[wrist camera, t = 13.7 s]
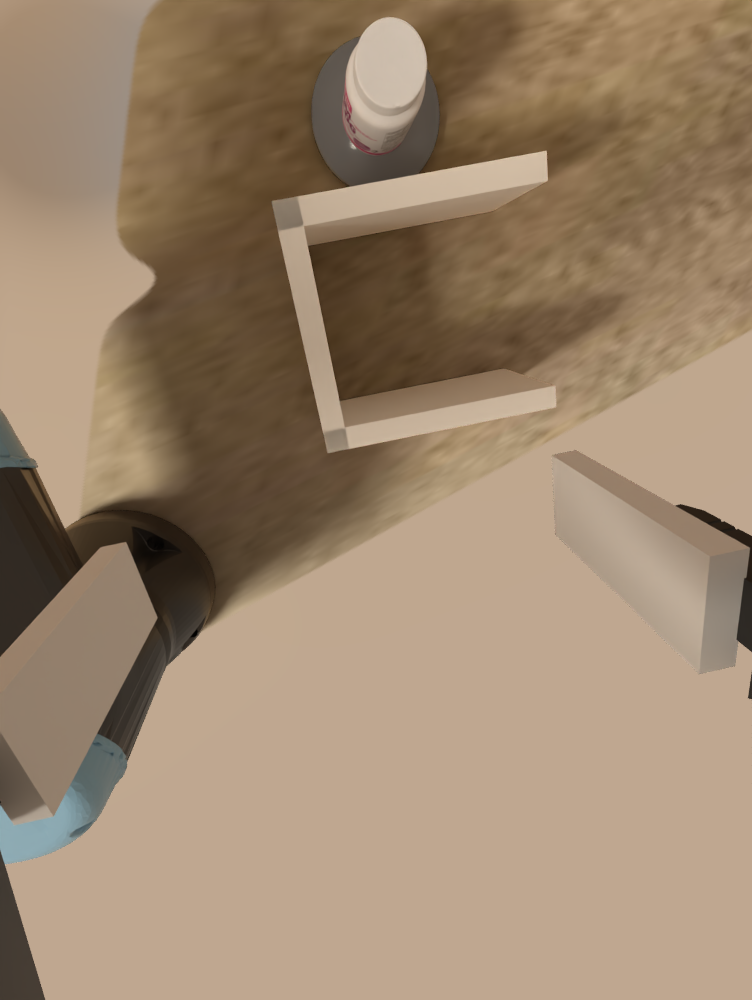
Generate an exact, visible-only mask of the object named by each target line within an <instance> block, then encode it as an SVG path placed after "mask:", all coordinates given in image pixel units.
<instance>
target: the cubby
mask: <svg viewBox="0 0 752 1000" xmlns="http://www.w3.org/2000/svg"><path fill="white" fill-rule="evenodd" d="M547 181H548V173H547V151H542V152H537V153H531V154H526V155H520V156H515V157H509V158H504V159H499V160H493V161H488V162H482V163H477V164H471V165H466V166H460V167H455V168H450V169H444V170H439V171H433V172H428V173H422V174H417V175H411V176H406V177H401V178H395V179H390V180H384V181H379V182H373V183H368V184H363V185H357V186H352V187H346V188H341V189H335V190H330V191H324V192H319V193H314V194H308V195H303V196H297V197H292V198H286V199H281V200H275V201H271V202H272V206H273V211H274V215H275V220H276V224H277V229H278V233H279V238H280V242H281V247H282V251H283V256H284V260H285V265H286V269H287V273H288V278H289V282H290V287H291V291H292V296H293V300H294V305H295V309H296V314H297V318H298V323H299V327H300V332H301V336H302V341H303V345H304V350H305V354H306V359H307V363H308V368H309V372H310V377H311V381H312V386H313V390H314V394H315V399H316V403H317V408H318V412H319V417H320V421H321V426H322V430H323V435H324V439H325V444H326V448H327V453H332V452H337V451H342V450H347V449H352V448H357V447H362V446H366V445H371V444H376V443H381V442H386V441H391V440H396V439H401V438H406V437H411V436H416V435H421V434H426V433H431V432H436V431H441V430H446V429H451V428H456V427H461V426H466V425H471V424H476V423H481V422H486V421H491V420H496V419H501V418H506V417H511V416H516V415H521V414H526V413H531V412H536V411H541V410H546V409H551V408H556V387H555V385H552V384H549V383H546V382H543V381H540V380H537V379H534V378H531V377H528V376H525V375H522V374H519V373H516V372H513V371H510V370H508V369H505V368H504V369H499V370H494V371H489V372H484V373H479V374H474V375H469V376H464V377H459V378H453V379H448V380H443V381H438V382H433V383H428V384H423V385H418V386H413V387H408V388H403V389H398V390H393V391H388V392H383V393H378V394H373V395H367V396H362V397H357V398H352V399H347V400H342V401H339V396H338V391H337V386H336V381H335V376H334V371H333V366H332V362H331V357H330V352H329V347H328V342H327V337H326V332H325V327H324V323H323V318H322V313H321V308H320V303H319V298H318V293H317V288H316V284H315V279H314V274H313V269H312V264H311V259H310V254H309V249H308V246H310V245H316V244H321V243H326V242H332V241H337V240H343V239H348V238H353V237H359V236H364V235H369V234H375V233H380V232H385V231H391V230H396V229H401V228H407V227H412V226H417V225H423V224H428V223H433V222H439V221H444V220H449V219H455V218H460V217H465V216H471V215H476V214H481V213H487V212H492V211H494V210H496V209H498V208H500V207H501V206H503V205H505V204H507V203H509V202H510V201H512V200H514V199H516V198H518V197H519V196H521V195H523V194H525V193H527V192H529V191H530V190H532V189H534V188H536V187H538V186H539V185H541V184H543V183H545V182H547Z"/></svg>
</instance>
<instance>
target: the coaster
mask: <svg viewBox="0 0 752 1000" xmlns="http://www.w3.org/2000/svg"><path fill="white" fill-rule="evenodd" d="M359 40H360V37H357V38H354V39H352V40H350V41H348V42H346V43H345V44H343V45H342V46H340V47H339V48H338V49H337V50H336V51H335V52H333V54H332V55H331V56H330V57H329V58H328V60H327V61H326V63H325V64H324V66H323V67H322V69H321V71H320V73H319V76H318V78H317V81H316V84H315V87H314V92H313V97H312V127H313V133H314V137H315V141H316V144H317V147H318V150H319V152H320V154H321V156H322V158H323V160H324V162H325V163H326V165H327V166H328V168H329V169H330V170H331V171H332V173H333V174H334V175H335V176H336V177H337V178H338V179H339V180H341V181H342V182H343V183H345V184H346V185H348V186H349V187H352V186H357V185H363V184H368V183H373V182H379V181H384V180H390V179H395V178H401V177H406V176H411V175H417V174H418V173H419V172H420V171H421V170H422V168H423V167H424V166H425V164H426V163H427V161H428V159H429V157H430V156H431V154H432V151H433V149H434V146H435V143H436V140H437V136H438V130H439V120H440V111H439V101H438V95H437V91H436V88H435V85H434V82H433V80H432V77H431V75H430V73H429V71H428V69H427V72H426V85H425V93H424V97H423V101H422V104H421V106H420V109H419V111H418V113H417V115H416V117H415V119H414V121H413V123H412V125H411V127H410V129H409V131H408V132H407V134H406V136H405V138H404V140H403V141H402V142H401V144H400V145H399V146H398V147H397V148H396V149H394V150H393V151H391V152H390V153H387V154H385V155H380V156H373V155H369V154H366V153H364V152H362V151H360V150H359V149H358V148H356V147H355V146H354V145H353V144H352V142H351V141H350V139H349V138H348V136H347V134H346V131H345V129H344V125H343V120H342V104H343V97H344V87H345V76H346V69H347V65H348V61H349V59H350V56H351V54H352V52H353V50H354V48H355V47H356V45H357V44H358V42H359Z"/></svg>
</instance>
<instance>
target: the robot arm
mask: <svg viewBox="0 0 752 1000" xmlns="http://www.w3.org/2000/svg"><path fill="white" fill-rule="evenodd" d="M36 467H38V465H37V463H36V461H35V460H34V459H32V458H30V457H29V456H28V454H27V452H26V451H25V449H24V447H23V446H22V444H21V442H20V441H19V439H18V437H17V436H16V434H15V432H14V430H13V428H12V427H11V425H10V424H9V421H8V419H7V418H6V416H5V415H4V413H3V412H2V411H1V410H0V1000H45V998H44V994H43V991H42V987H41V984H40V981H39V977H38V974H37V971H36V967H35V964H34V961H33V958H32V954H31V951H30V948H29V944H28V941H27V938H26V934H25V931H24V927H23V924H22V921H21V917H20V914H19V911H18V907H17V904H16V901H15V897H14V894H13V891H12V888H11V884H10V881H9V877H8V874H7V871H6V868H5V864H10V863H15V862H21V861H26V860H30V859H34V858H38V857H41V856H44V855H47V854H49V853H52V852H54V851H56V850H58V849H60V848H62V847H64V846H66V845H68V844H70V843H71V842H73V841H74V840H76V839H77V838H78V837H80V836H81V835H82V834H83V833H85V832H86V831H87V830H88V829H89V828H90V827H91V826H92V824H93V823H94V822H95V821H96V820H97V818H98V817H99V815H100V814H101V812H102V810H103V809H104V806H105V804H106V802H107V800H108V799H109V797H110V794H111V792H112V791H113V789H114V786H115V785H116V784H117V782H118V781H119V780H120V779H121V778H122V777H123V775H124V773H125V770H126V768H127V761H128V758H129V756H130V754H131V751H132V748H133V746H134V744H135V741H136V739H137V736H138V734H139V731H140V729H141V726H142V724H143V722H144V719H145V717H146V714H147V711H148V709H149V707H150V705H151V702H152V700H153V697H154V695H155V692H156V690H157V687H158V685H159V682H160V680H161V678H162V675H163V673H164V671H165V668H166V666H167V665H168V664H170V663H171V662H172V661H173V660H174V659H175V658H176V657H177V656H178V655H179V654H180V653H181V652H182V651H183V650H184V649H186V648H187V647H188V646H189V645H190V644H191V643H192V642H193V641H194V640H195V639H196V638H197V636H198V635H199V634H200V632H201V631H202V629H203V627H204V626H205V624H206V621H207V619H208V616H209V614H210V611H211V608H212V605H213V601H214V596H215V582H214V576H213V572H212V569H211V566H210V564H209V561H208V559H207V558H206V556H205V554H204V553H203V551H202V550H201V548H200V547H199V546H198V545H197V544H196V543H195V541H194V540H193V539H192V538H191V537H189V536H188V535H187V534H186V533H185V532H183V531H182V530H181V529H179V528H178V527H176V526H174V525H173V524H171V523H169V522H167V521H165V520H163V519H160V518H158V517H155V516H152V515H149V514H145V513H140V512H134V511H121V510H120V511H106V512H100V513H96V514H92V515H89V516H86V517H84V518H82V519H80V520H78V521H76V522H74V523H73V524H71V525H70V526H68V527H67V528H66V529H65V528H64V526H63V524H62V522H61V520H60V518H59V516H58V514H57V512H56V510H55V508H54V506H53V504H52V501H51V499H50V497H49V495H48V493H47V491H46V489H45V487H44V485H43V483H42V480H41V478H40V476H39V474H38V472H37V470H36ZM552 470H553V493H554V494H553V495H554V518H555V535H556V536H557V537H558V538H559V539H560V540H561V541H562V542H563V543H564V544H566V545H567V546H568V547H569V548H570V549H571V550H572V551H573V552H574V553H575V554H576V555H577V556H578V557H579V558H580V559H581V560H582V561H583V562H584V563H585V564H586V565H587V566H588V567H589V568H590V569H591V570H592V571H594V573H596V574H597V576H599V577H600V578H601V579H602V580H603V581H604V582H605V583H606V584H607V585H608V586H609V587H610V588H611V589H612V590H613V591H614V592H615V593H616V594H617V595H618V596H619V597H620V598H621V599H622V600H623V601H624V602H625V603H626V604H627V605H629V607H631V608H632V609H633V610H634V611H635V612H636V613H637V614H638V615H639V616H640V617H641V618H642V619H643V620H644V621H645V622H646V623H647V624H648V625H649V626H650V627H651V628H652V629H653V630H654V631H655V632H656V633H657V634H658V635H659V636H660V637H661V638H662V639H664V641H666V642H667V643H668V644H669V645H670V646H671V647H672V648H673V649H674V650H675V651H676V652H677V653H678V654H679V655H680V656H681V657H682V658H683V659H684V660H685V661H686V662H687V663H688V664H689V665H690V666H691V667H692V668H693V669H694V670H696V672H698V673H699V674H701V673H706V672H710V671H715V670H720V669H724V668H728V667H733V666H735V663H736V655H737V647H738V641H739V642H740V643H741V644H743V645H744V646H745V647H746V648H748V649H749V650H750V651H751V652H752V536H751V535H749V534H747V533H745V532H743V531H741V530H739V529H737V530H736V529H735V527H734V526H732V525H730V524H728V523H726V522H721V520H720V519H718V518H717V517H715V516H713V515H711V514H709V513H707V512H706V511H703V510H700V509H696V508H693V507H689V506H685V505H681V504H680V505H676V506H675V505H673V504H671V503H669V502H667V501H665V500H664V499H662V498H660V497H658V496H657V495H655V494H653V493H651V492H649V491H648V490H646V489H644V488H642V487H641V486H639V485H637V484H635V483H634V482H632V481H630V480H628V479H626V478H625V477H623V476H621V475H619V474H617V473H616V472H614V471H612V470H610V469H609V468H607V467H605V466H603V465H601V464H600V463H598V462H596V461H594V460H593V459H591V458H589V457H587V456H585V455H584V454H582V453H580V452H578V451H576V450H574V451H569V452H565V453H560V454H555V455H552ZM748 698H749V699H752V675H751V681H750V688H749V696H748Z"/></svg>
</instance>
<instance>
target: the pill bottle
mask: <svg viewBox="0 0 752 1000" xmlns="http://www.w3.org/2000/svg"><path fill="white" fill-rule="evenodd" d="M426 72H427V56H426V51H425V47H424V44H423V42H422V40H421V38H420V36H419V34H418V33H417V31H416V30H415V29H414V28H413V27H412V26H411V25H410V24H409V23H407V22H406V21H404V20H402V19H399V18H395V17H385V18H382V19H379V20H377V21H375V22H373V23H372V24H371V25H370V26H369V27H368V28H367V29H366V30H365V31H364V32H363V34H362V36H361V37H360V40H359V42H358V44H357V45H356V47H355V48H354V50H353V52H352V54H351V56H350V59H349V61H348V65H347V69H346V76H345V87H344V97H343V104H342V120H343V125H344V129H345V131H346V134H347V136H348V138H349V139H350V141H351V142H352V144H353V145H354V146H355V147H356V148H358V149H359V150H360V151H362V152H364V153H366V154H369V155H373V156H380V155H385V154H387V153H390V152H391V151H393V150H394V149H396V148H397V147H398V146H399V145H400V144H401V142H402V141H403V140H404V138H405V136H406V134H407V132H408V131H409V129H410V127H411V125H412V123H413V121H414V119H415V117H416V115H417V113H418V111H419V109H420V106H421V104H422V101H423V97H424V93H425V85H426Z"/></svg>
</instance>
